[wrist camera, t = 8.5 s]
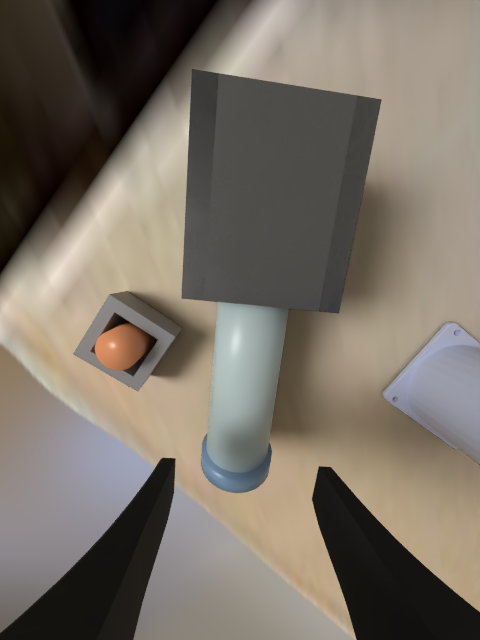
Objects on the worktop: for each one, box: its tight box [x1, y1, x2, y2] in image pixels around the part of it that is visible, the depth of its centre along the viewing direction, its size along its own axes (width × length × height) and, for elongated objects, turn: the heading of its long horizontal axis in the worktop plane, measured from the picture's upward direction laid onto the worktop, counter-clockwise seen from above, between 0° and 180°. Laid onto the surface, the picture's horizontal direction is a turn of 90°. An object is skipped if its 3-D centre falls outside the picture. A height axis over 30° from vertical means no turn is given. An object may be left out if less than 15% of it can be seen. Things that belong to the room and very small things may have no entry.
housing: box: [182, 69, 381, 313], centre depth 12 cm, size 9×7×6 cm
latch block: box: [73, 291, 183, 391], centre depth 16 cm, size 5×5×2 cm
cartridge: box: [201, 302, 289, 493], centre depth 15 cm, size 15×5×5 cm, turn 174°
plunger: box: [95, 321, 155, 370], centre depth 15 cm, size 3×3×3 cm
